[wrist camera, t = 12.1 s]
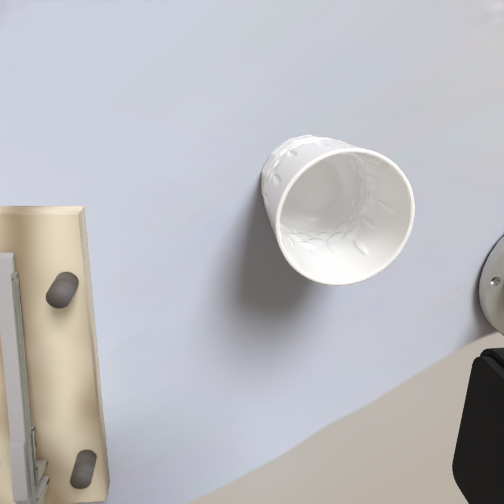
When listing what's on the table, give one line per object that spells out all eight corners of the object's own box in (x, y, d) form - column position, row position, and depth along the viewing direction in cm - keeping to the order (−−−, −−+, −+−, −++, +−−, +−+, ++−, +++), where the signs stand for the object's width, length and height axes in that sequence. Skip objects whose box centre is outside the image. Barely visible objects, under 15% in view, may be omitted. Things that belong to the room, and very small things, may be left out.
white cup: (377, 172, 36) (443, 209, 27) (307, 250, 37) (347, 310, 28) (301, 102, 33) (345, 116, 24) (230, 189, 35) (246, 233, 26)
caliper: (52, 477, 40) (29, 547, 34) (38, 478, 40) (12, 549, 34) (15, 250, 32) (-22, 290, 27) (-2, 250, 32) (-43, 290, 26)
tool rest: (84, 206, 34) (69, 225, 30) (109, 482, 43) (101, 526, 39) (-67, 205, 33) (-105, 226, 28) (-7, 490, 42) (-29, 537, 38)
